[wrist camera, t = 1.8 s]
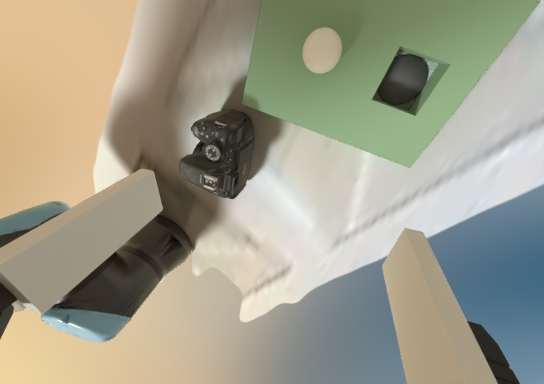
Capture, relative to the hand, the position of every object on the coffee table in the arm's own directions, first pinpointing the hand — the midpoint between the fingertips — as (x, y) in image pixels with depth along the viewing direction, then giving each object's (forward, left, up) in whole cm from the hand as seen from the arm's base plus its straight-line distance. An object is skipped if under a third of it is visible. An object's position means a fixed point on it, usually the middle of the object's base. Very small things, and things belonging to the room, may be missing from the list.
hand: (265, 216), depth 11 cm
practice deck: (+3, +8, -23) cm, 25 cm away
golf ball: (-1, +8, -18) cm, 20 cm away
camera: (-10, -9, -24) cm, 27 cm away
